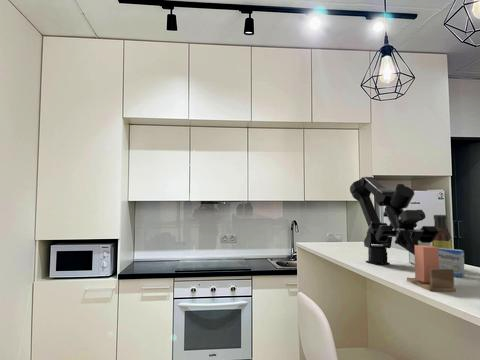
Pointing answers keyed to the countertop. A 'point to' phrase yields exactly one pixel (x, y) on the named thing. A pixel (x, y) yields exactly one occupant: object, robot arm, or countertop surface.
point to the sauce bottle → (442, 233)
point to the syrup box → (412, 256)
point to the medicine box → (452, 261)
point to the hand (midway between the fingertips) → (417, 255)
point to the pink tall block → (425, 261)
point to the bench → (437, 280)
